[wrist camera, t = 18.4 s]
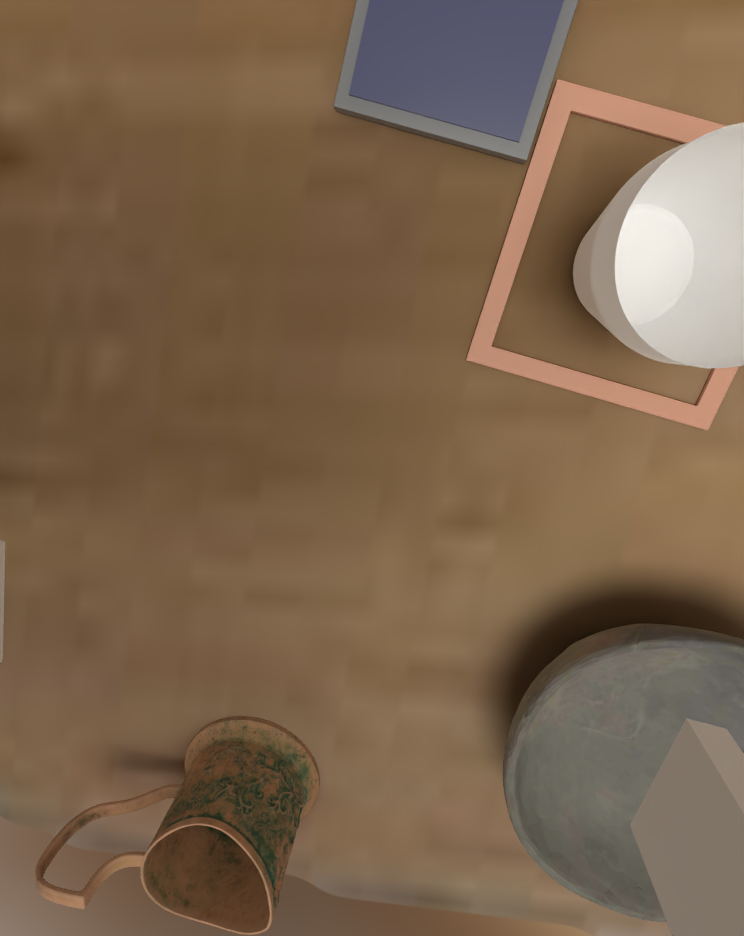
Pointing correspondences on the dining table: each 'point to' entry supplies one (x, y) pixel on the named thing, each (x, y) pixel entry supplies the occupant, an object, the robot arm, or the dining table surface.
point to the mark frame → (553, 126)
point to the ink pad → (455, 68)
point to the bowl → (611, 749)
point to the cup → (673, 256)
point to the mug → (215, 828)
